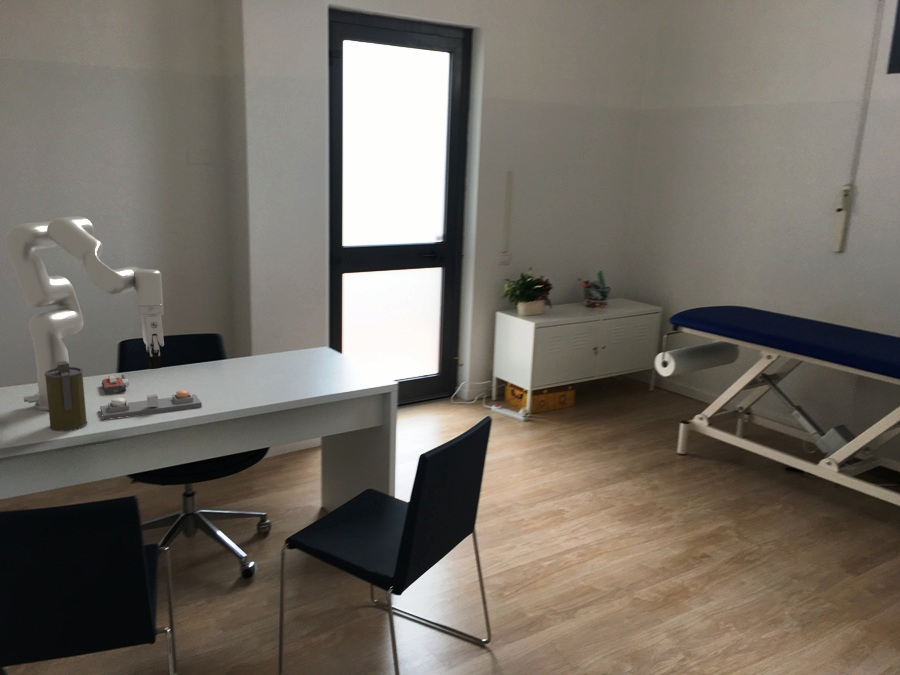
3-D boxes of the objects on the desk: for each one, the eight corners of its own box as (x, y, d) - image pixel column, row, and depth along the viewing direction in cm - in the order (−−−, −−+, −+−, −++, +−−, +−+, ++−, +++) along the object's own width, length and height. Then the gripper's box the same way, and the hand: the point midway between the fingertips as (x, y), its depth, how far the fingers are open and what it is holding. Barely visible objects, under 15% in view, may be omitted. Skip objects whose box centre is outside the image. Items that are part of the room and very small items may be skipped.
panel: (104, 420, 232) (103, 411, 232) (100, 410, 241) (99, 401, 240) (201, 406, 247) (201, 398, 247) (195, 398, 256) (194, 390, 255)
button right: (177, 399, 246) (177, 394, 245) (175, 396, 249) (175, 391, 249) (190, 397, 248) (189, 392, 247) (187, 394, 251) (187, 389, 251)
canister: (48, 423, 228) (42, 360, 224) (85, 417, 234) (80, 357, 229) (51, 434, 219) (44, 369, 215) (89, 428, 225) (84, 365, 220)
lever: (158, 406, 241) (157, 395, 240) (148, 407, 239) (147, 396, 239) (157, 404, 243) (156, 394, 242) (147, 405, 241) (146, 395, 240)
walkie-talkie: (132, 393, 260) (126, 378, 277) (131, 381, 259) (125, 367, 276) (104, 396, 256) (100, 381, 273) (103, 384, 255) (99, 369, 272)
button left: (112, 407, 236) (112, 402, 235) (111, 404, 239) (110, 398, 239) (126, 406, 238) (125, 400, 237) (124, 402, 241) (123, 397, 241)
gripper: (168, 313, 222) (171, 371, 226) (158, 303, 236) (161, 358, 241) (141, 315, 218) (145, 374, 223) (133, 305, 233) (136, 360, 237)
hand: (153, 365), depth 232 cm, fingers open, 5 cm apart
